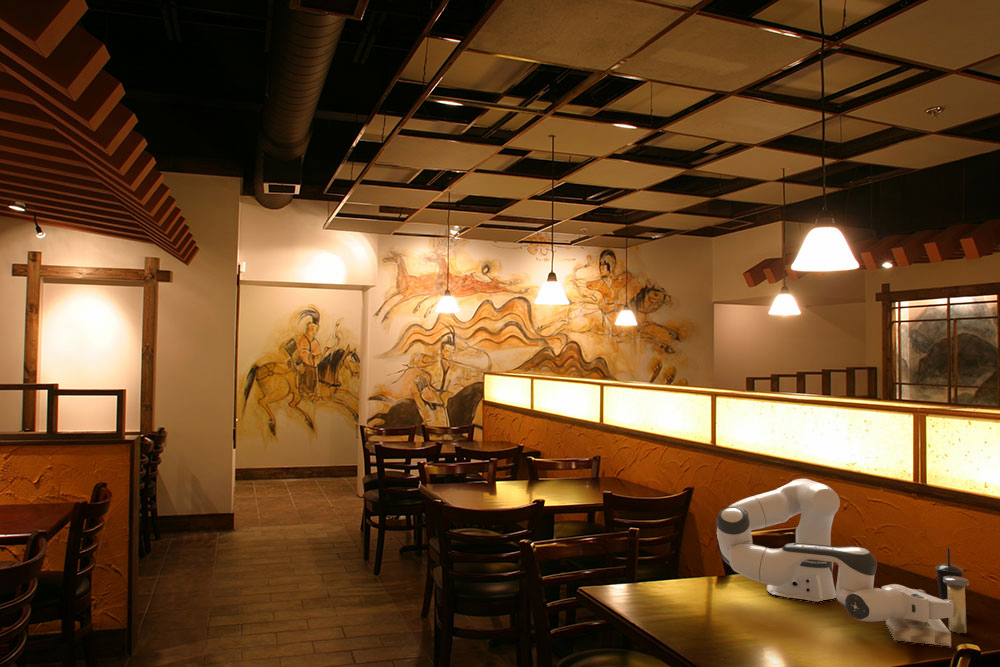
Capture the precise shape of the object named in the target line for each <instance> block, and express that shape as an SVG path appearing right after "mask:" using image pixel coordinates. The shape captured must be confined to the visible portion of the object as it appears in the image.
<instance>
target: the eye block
mask: <svg viewBox="0 0 1000 667" xmlns="http://www.w3.org/2000/svg"><path fill="white" fill-rule="evenodd" d="M886 625H887V626H886ZM885 626H886V628H887V627H888V628H887V630H888V629H889V630H888V632H889V633H890V632H891V633H890V635H891V634H892V635H891V637H892V636H893V637H892V639H893V638H894V639H893V640H894V641H895V640H898V641H905V642H904V643H906V642H914V643H913V644H915V643H925V644H934V645H941V646H940V647H942V646H949V647H948V648H952V632H951V631H950V630H949V628H948V627H947V626H946V625H945V623H944V622H943V621H942V619H929V622H920V621H916V620H911V619H890V618H889V619H888V620H885Z"/></svg>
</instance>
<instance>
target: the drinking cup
mask: <svg viewBox="0 0 1000 667" xmlns="http://www.w3.org/2000/svg"><path fill="white" fill-rule="evenodd" d="M946 549H947V550H946V552H947V563H942V564H939V565H936V566H935V570H936V577H937V584H938V585H937V586H938V592H939V599H942V600H944V599H948V591H947V584H946V583H944V582H943V577H944V576H956V577H962V578H963V573H964V570H963V568H960V567H958V566H957V565H953V564H951V550H950V548H947V547H946Z"/></svg>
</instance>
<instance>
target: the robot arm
mask: <svg viewBox="0 0 1000 667" xmlns="http://www.w3.org/2000/svg"><path fill="white" fill-rule="evenodd" d="M840 505H841V501H840V497H839V495H838V493H837V492H836V491H835V490H834V489H833V488H831V487H830V486H829V485H827V484H824V483H822V482H817V481H814V480H813V479H812V480H811V479H809V478H798V479H797V478H796V479H793V480H792V481H790V482H789V483H787V484H785V485H783V486H781V487H778V488H776V489H773V490H770V491H767V492H763V493H760V494H756V495H753V496H749V497H746V498H743V499H740V500H738V501H736V502H734V503H731V504H730V505H729V506H728V507H725V508H722V509H721V510H720V511H719V512H718V513H717V515H716V520H715V524H716V537H717V541H718V546H719V553H720V556H721V558H722V560H723V561H724V562H725V563H726V564H727V565H728V566H730V567H731V569H732V570H733V571H734V572H735V573H737V574H739V575H740V576H741V575H742V576H743V577H745V578H747V579H751V580H752V581H753V580H754V581H756V582H759V583H761V584H765V585H766V592H767V591H768V592H769V593H771V594H772V595H778V596H784V597H792V598H798V599H805V600H812V601H823V600H827V599H834V598H836V599H834V600H837V602H838V603H839V604H840V606H841V607H842V608H844V610H846V611H847V613H848V614H849V615H850V616H851V617H852V618H853V619H855V620H857V621H862V622H883V621H886V620H888V619H889V618H890V619H911V620H916V621H920V622H929V619H940V620H943V619H947V618H948V617H952V616H953V606H954V602H953V600H950V599H944V600H942V599H940V597H937V596H933V595H931V594H928V593H926V591H925V590H923V589H915V588H909V587H906V586H905V585H901V584H897V583H893V584H892V583H891V584H887V585H883V586H881V588H879V587H874V583H875V582H874V581H875V575H876V572H877V566H878V561H877V560H876V559H877V558H876V557H875V556H874V555H873V553H872V552H871V551H870V550H869V549H867V548H863V547H859V546H837V545H836V546H835V545H831V532H832V526H833V522H834V517H835V514H836V513H837V512H838V511H839V510H840V509H839V508H840ZM798 514H800V517H799V518H800V519H799V523H798V526H796V527H795V542H791V543H789V542H788V543H786V544H784V546H782V547H780V548H769V547H766V546H764V545H763V546H762V545H759V544H758V545H757V544H754V543H753V536H752V531H755V530H759V529H764V528H767V527H771V526H775V525H777V524H782V523H786V522H788V521H789V519H791V518H792V517H794V516H796V515H798ZM834 563H836V564H837V565H838V567H837V568H838V570H837V578H836V580H837V581H836V585H835V583H834V578H833V570H834ZM768 592H767V593H768ZM769 593H768V594H769ZM772 595H771V596H772ZM823 602H824V601H823ZM948 619H949V618H948Z"/></svg>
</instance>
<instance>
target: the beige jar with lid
mask: <svg viewBox="0 0 1000 667" xmlns="http://www.w3.org/2000/svg"><path fill="white" fill-rule="evenodd" d="M943 582H944V583H946V584H947V591H948V599H950V600H953V602H954V606H953V616H952V617H948V630H949V631H950V632H951V631H952V632H951V633H954V632H956V633H955V634H960V633H964V634H967V615H966V614H967V613H966V612H967V611H966V610H967V609H966V588H965V587H968V586H969V584H970V583H969V582H970V581H969V579H967V578H965V577H963V576H962V577H956V576H944V577H943Z"/></svg>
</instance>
